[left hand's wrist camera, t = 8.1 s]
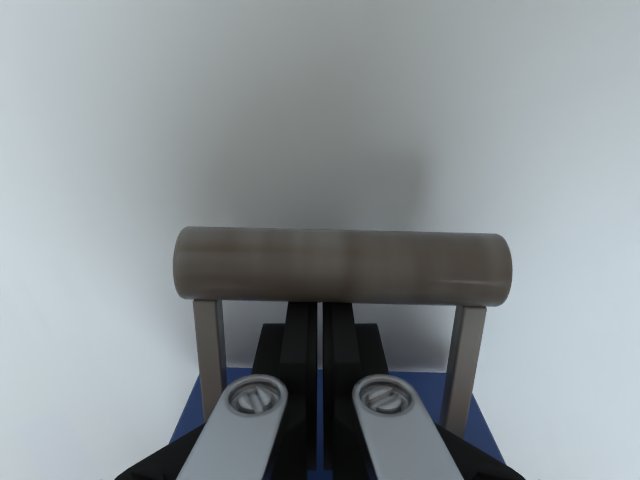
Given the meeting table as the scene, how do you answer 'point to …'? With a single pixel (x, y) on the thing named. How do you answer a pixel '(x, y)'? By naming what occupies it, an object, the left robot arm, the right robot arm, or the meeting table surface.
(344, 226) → the meeting table surface
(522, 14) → the meeting table surface
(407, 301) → the drawer
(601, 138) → the meeting table surface
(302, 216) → the meeting table surface
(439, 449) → the left robot arm
